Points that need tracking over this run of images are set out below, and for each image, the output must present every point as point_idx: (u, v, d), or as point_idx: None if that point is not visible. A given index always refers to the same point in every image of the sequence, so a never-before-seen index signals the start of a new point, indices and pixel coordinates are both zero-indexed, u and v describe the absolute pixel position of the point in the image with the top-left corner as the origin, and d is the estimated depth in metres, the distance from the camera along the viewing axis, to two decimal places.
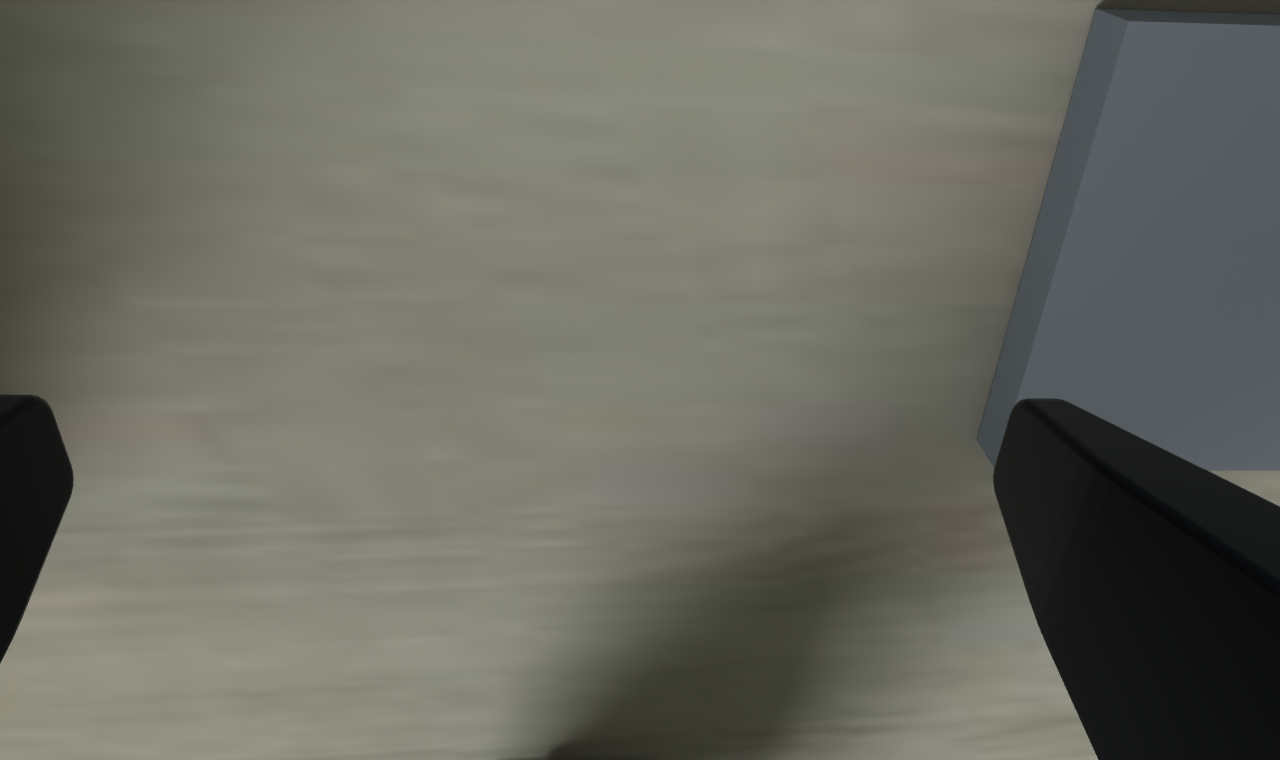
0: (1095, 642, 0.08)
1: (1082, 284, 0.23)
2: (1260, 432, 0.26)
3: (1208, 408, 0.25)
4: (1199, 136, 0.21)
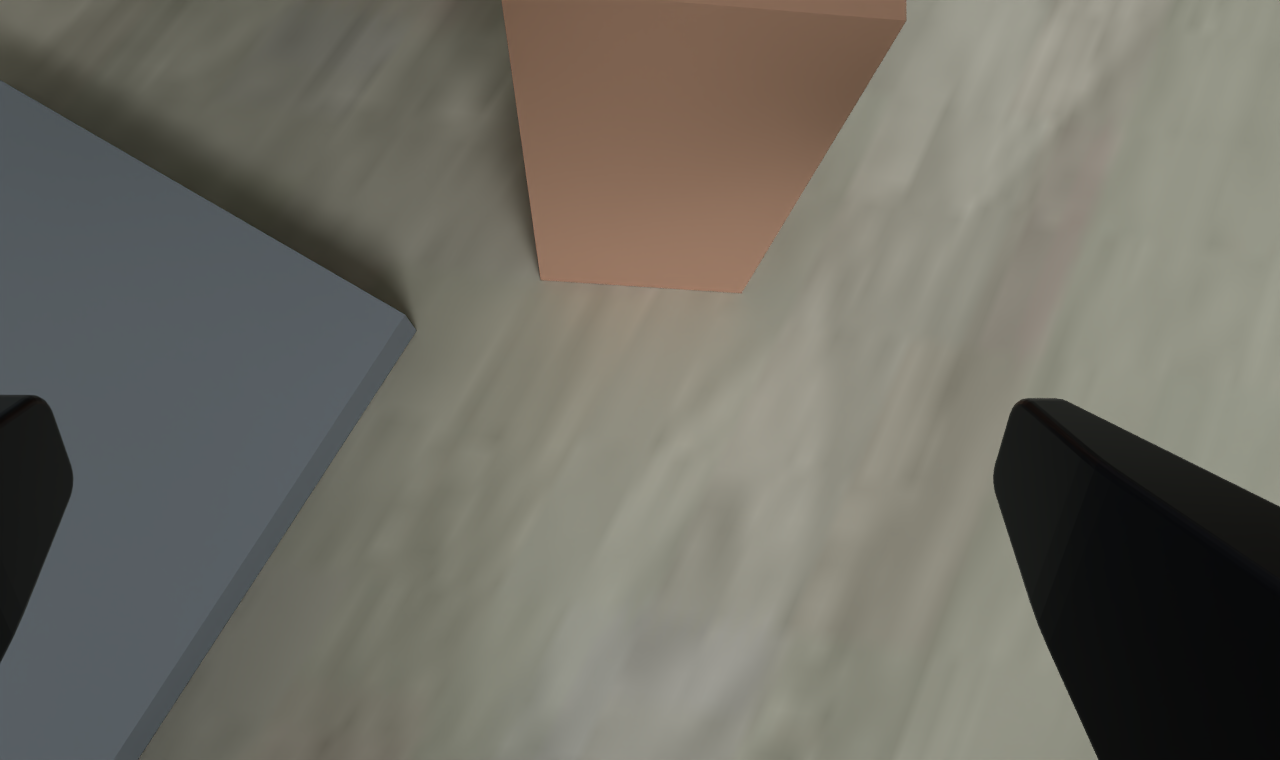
0: (1095, 642, 0.08)
1: None
2: (234, 466, 0.20)
3: (154, 521, 0.20)
4: None
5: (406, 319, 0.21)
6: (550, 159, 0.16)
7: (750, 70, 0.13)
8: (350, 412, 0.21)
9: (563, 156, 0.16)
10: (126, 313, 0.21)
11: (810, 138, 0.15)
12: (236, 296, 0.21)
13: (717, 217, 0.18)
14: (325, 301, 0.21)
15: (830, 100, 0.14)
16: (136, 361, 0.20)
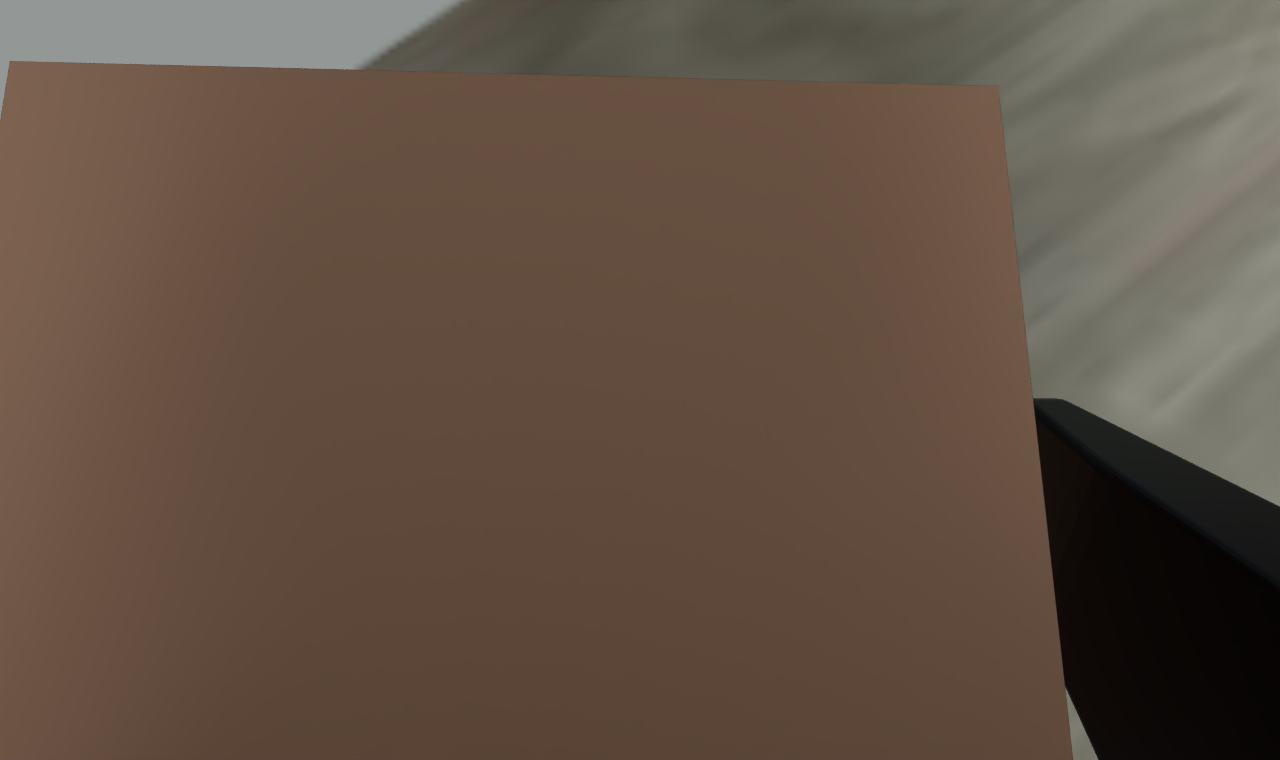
0: (1096, 642, 0.08)
1: None
2: None
3: None
4: None
5: None
6: None
7: None
8: None
9: None
10: None
11: None
12: None
13: None
14: None
15: None
16: None
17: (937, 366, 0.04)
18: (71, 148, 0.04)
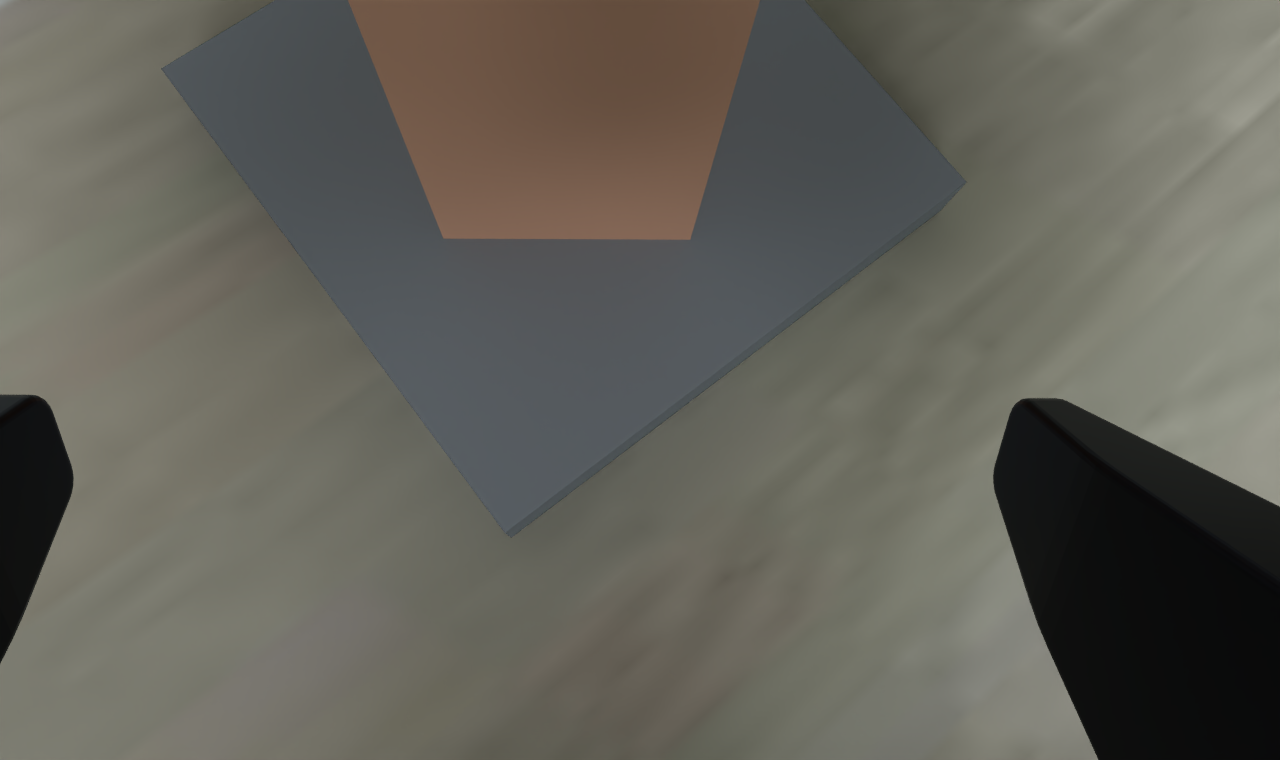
0: (1095, 642, 0.08)
1: (364, 274, 0.18)
2: (756, 261, 0.19)
3: (663, 283, 0.19)
4: (330, 91, 0.19)
5: (959, 189, 0.20)
6: (396, 29, 0.12)
7: None
8: (871, 257, 0.20)
9: (412, 21, 0.12)
10: None
11: None
12: (807, 102, 0.20)
13: (638, 117, 0.14)
14: (892, 139, 0.20)
15: None
16: None
17: None
18: None
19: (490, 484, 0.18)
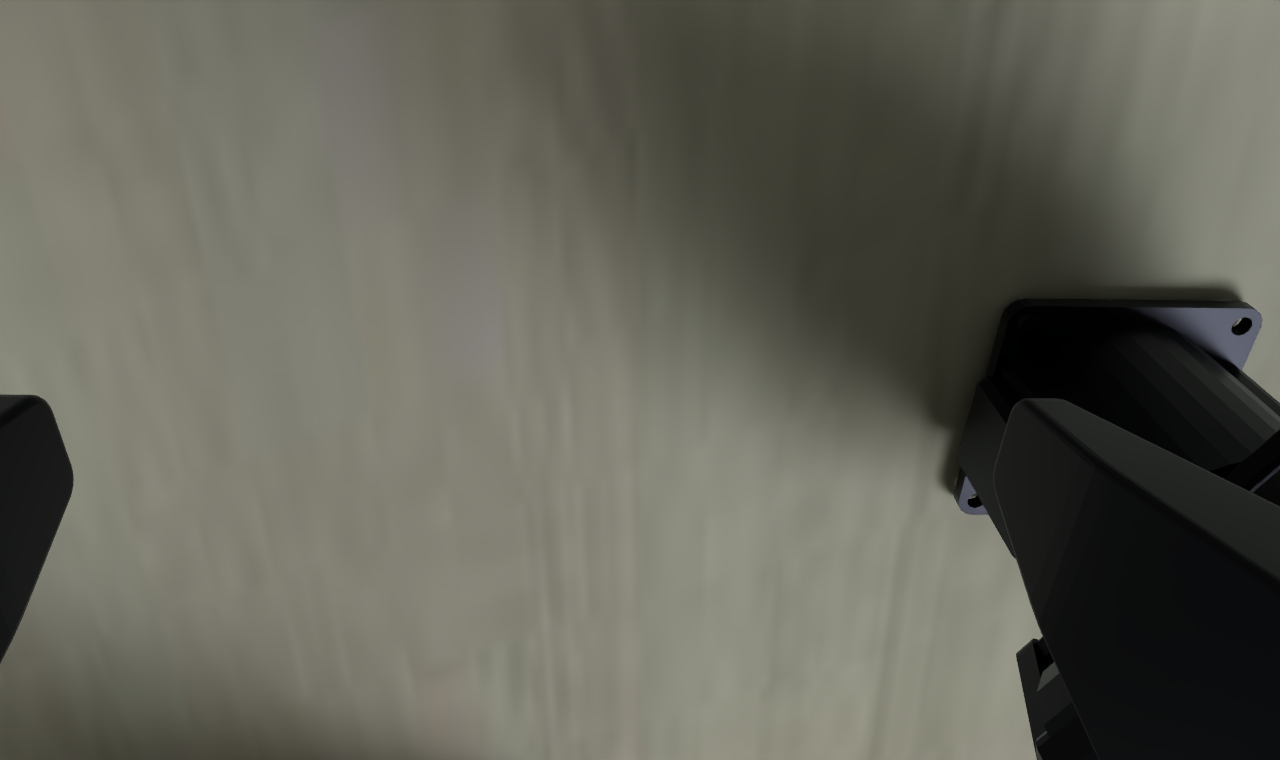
0: (1095, 642, 0.08)
1: None
2: None
3: None
4: None
5: None
6: None
7: None
8: None
9: None
10: None
11: None
12: None
13: None
14: None
15: None
16: None
17: None
18: None
19: None
